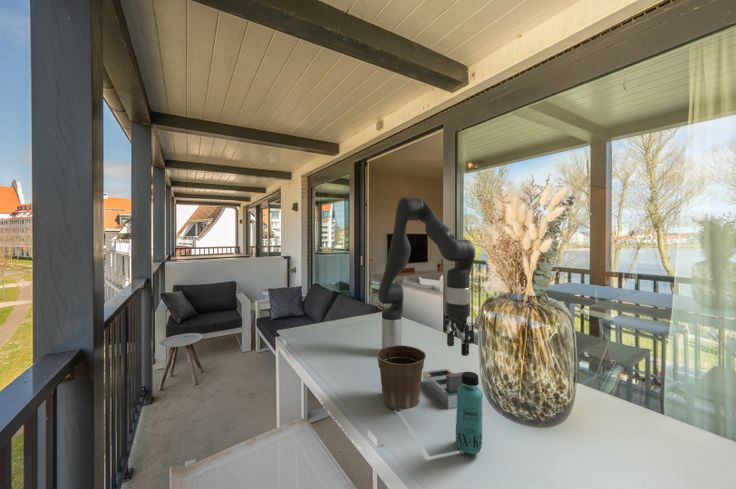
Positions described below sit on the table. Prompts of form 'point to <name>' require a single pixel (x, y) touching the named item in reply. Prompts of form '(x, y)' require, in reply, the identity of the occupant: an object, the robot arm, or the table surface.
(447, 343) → the robot arm
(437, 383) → the rack
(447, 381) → the panel
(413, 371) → the plant pot
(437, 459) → the table surface
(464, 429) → the beverage bottle
